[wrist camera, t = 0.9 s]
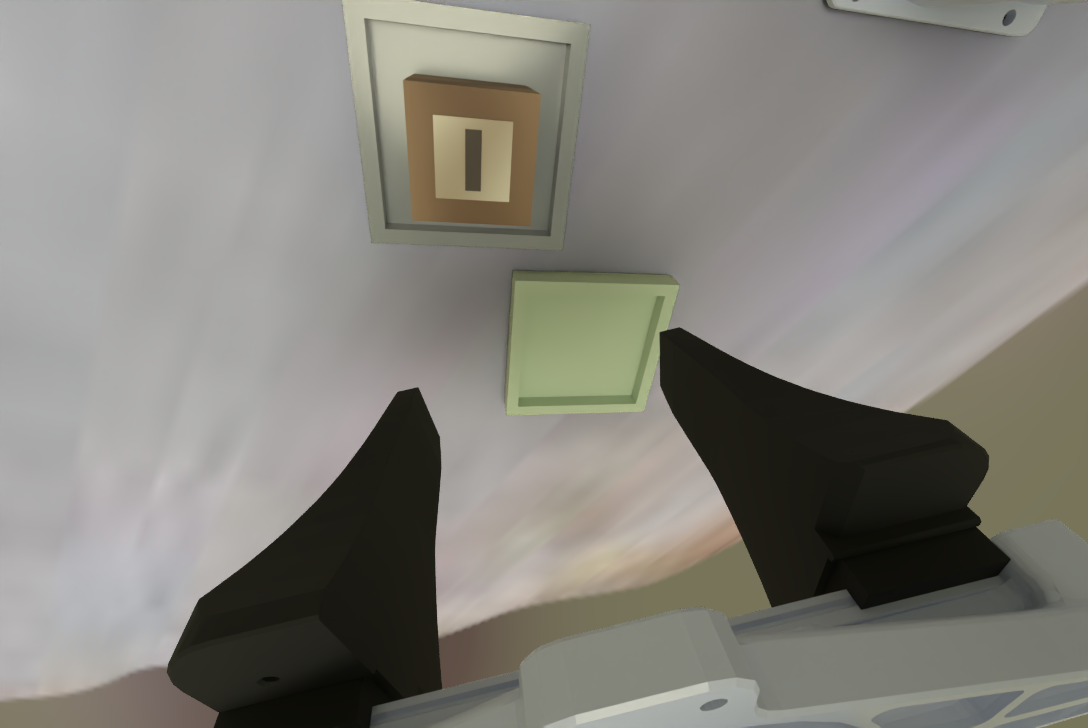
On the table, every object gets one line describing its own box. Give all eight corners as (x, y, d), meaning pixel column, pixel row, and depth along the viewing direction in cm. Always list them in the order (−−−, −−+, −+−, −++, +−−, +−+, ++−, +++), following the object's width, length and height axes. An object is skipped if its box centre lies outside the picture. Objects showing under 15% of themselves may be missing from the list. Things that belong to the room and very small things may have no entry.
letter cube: (525, 85, 17) (541, 94, 13) (518, 196, 19) (531, 227, 16) (414, 73, 16) (402, 80, 13) (420, 190, 18) (412, 221, 15)
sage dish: (670, 275, 23) (679, 285, 22) (636, 398, 27) (643, 411, 26) (512, 270, 21) (515, 280, 20) (504, 401, 26) (506, 415, 25)
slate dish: (582, 25, 16) (590, 24, 15) (557, 240, 21) (562, 250, 20) (348, -5, 15) (341, -9, 14) (375, 233, 19) (371, 242, 18)
